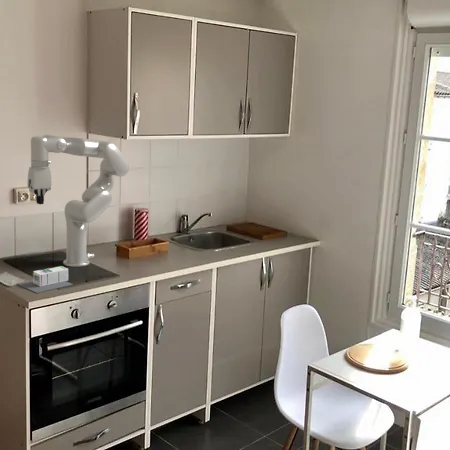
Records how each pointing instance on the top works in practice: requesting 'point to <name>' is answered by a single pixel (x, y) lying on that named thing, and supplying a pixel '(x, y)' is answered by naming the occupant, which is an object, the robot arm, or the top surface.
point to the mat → (38, 289)
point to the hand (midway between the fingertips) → (40, 203)
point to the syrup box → (50, 276)
